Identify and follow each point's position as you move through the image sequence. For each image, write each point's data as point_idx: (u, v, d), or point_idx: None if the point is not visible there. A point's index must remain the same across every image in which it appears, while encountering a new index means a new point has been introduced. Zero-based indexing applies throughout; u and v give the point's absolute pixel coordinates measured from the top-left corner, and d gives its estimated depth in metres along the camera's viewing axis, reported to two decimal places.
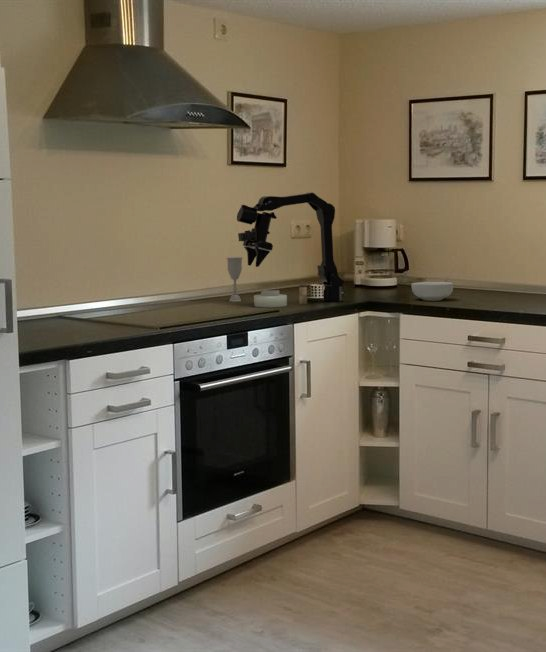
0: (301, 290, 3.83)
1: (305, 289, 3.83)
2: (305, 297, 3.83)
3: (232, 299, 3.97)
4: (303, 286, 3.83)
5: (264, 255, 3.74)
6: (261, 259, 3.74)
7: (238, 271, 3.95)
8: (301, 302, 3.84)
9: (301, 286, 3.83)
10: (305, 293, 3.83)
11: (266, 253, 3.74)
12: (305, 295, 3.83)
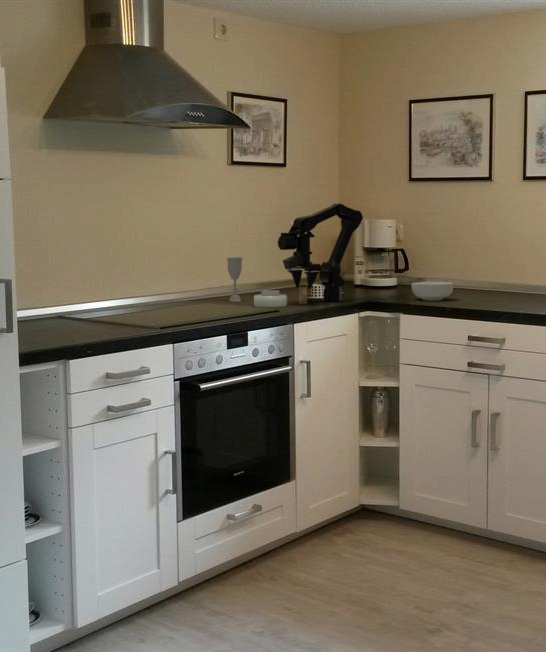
0: (301, 290, 3.83)
1: (305, 289, 3.83)
2: (305, 297, 3.83)
3: (232, 299, 3.97)
4: (303, 286, 3.83)
5: (314, 276, 3.79)
6: (312, 281, 3.79)
7: (238, 271, 3.95)
8: (301, 302, 3.84)
9: (301, 286, 3.83)
10: (305, 293, 3.83)
11: (316, 274, 3.79)
12: (305, 295, 3.83)
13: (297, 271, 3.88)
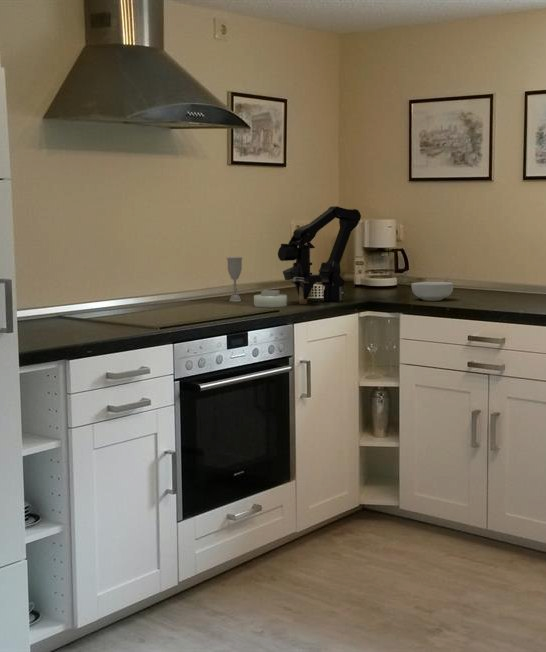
0: (301, 290, 3.83)
1: None
2: None
3: (232, 299, 3.97)
4: None
5: (310, 287, 3.82)
6: (308, 291, 3.82)
7: (238, 271, 3.95)
8: (301, 302, 3.84)
9: (301, 286, 3.83)
10: None
11: (312, 284, 3.82)
12: None
13: None
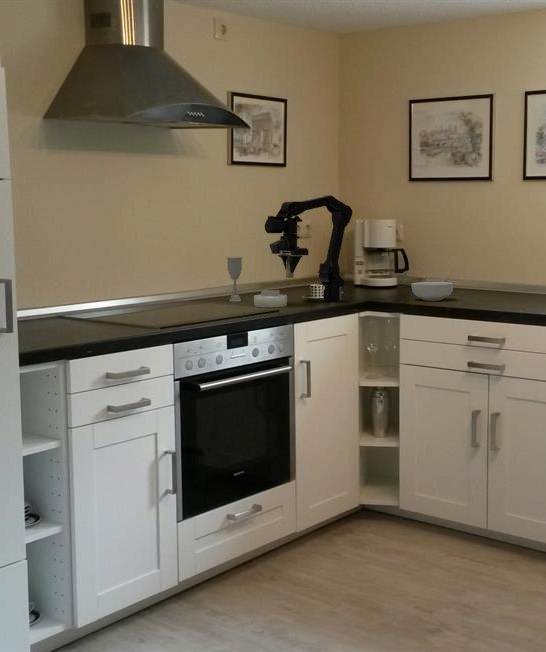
0: (288, 264, 3.79)
1: None
2: None
3: (232, 299, 3.97)
4: None
5: (297, 260, 3.78)
6: (295, 265, 3.78)
7: (238, 271, 3.95)
8: (287, 276, 3.79)
9: (288, 260, 3.79)
10: None
11: (298, 258, 3.78)
12: None
13: (288, 256, 3.82)
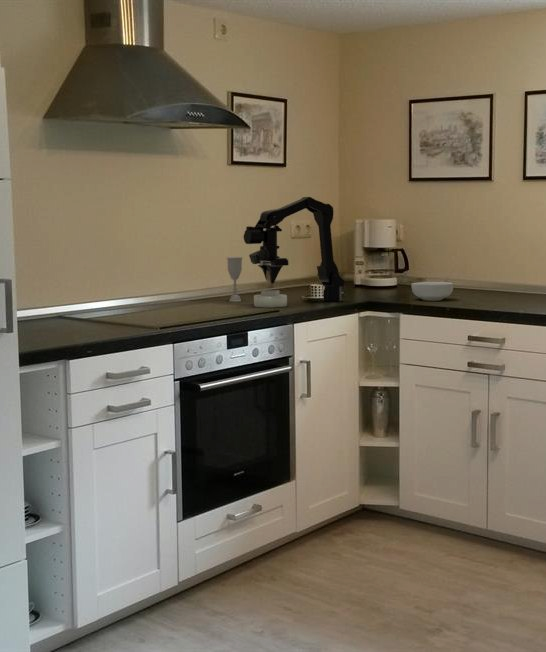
0: (268, 274, 3.75)
1: None
2: None
3: (232, 299, 3.97)
4: None
5: (277, 271, 3.74)
6: (275, 275, 3.75)
7: (238, 271, 3.95)
8: (268, 286, 3.76)
9: (268, 270, 3.75)
10: None
11: (279, 268, 3.74)
12: None
13: None
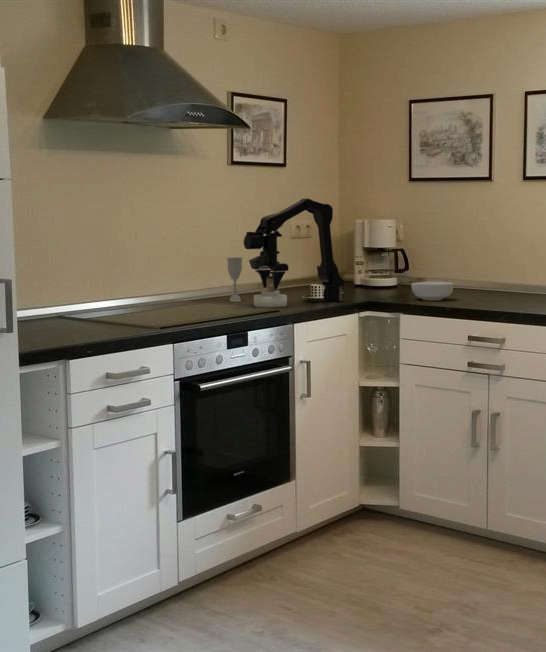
0: (268, 282, 3.75)
1: (272, 281, 3.75)
2: (272, 289, 3.76)
3: (232, 299, 3.97)
4: (270, 278, 3.75)
5: (280, 276, 3.72)
6: (278, 281, 3.73)
7: (238, 271, 3.95)
8: None
9: (268, 278, 3.75)
10: (272, 284, 3.76)
11: (282, 274, 3.72)
12: (272, 287, 3.76)
13: (265, 271, 3.80)
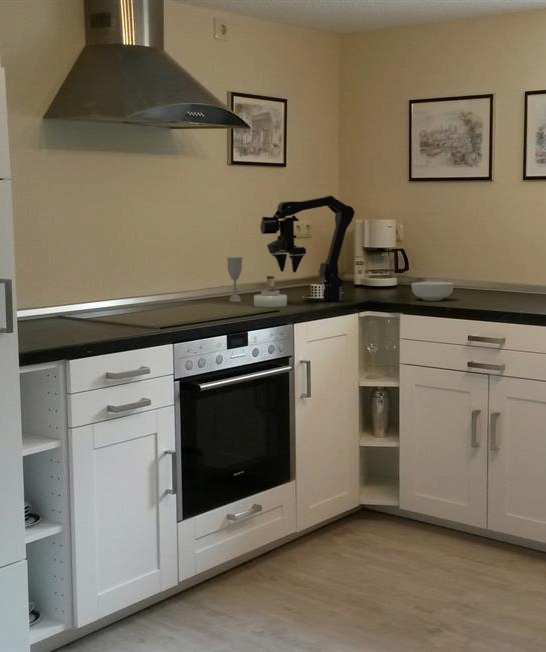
0: (268, 282, 3.76)
1: (272, 281, 3.76)
2: (272, 289, 3.76)
3: (232, 299, 3.97)
4: (270, 277, 3.75)
5: (299, 260, 3.81)
6: (297, 264, 3.81)
7: (238, 271, 3.95)
8: None
9: (268, 277, 3.75)
10: (272, 284, 3.76)
11: (300, 257, 3.81)
12: (272, 287, 3.76)
13: (281, 255, 3.90)
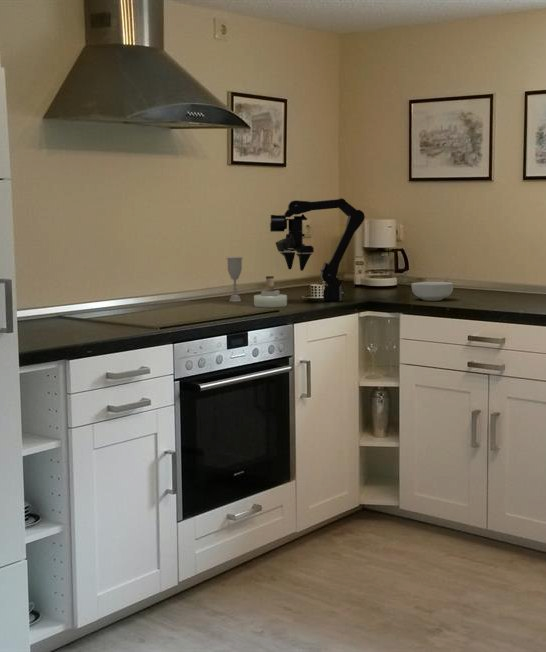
0: (267, 281, 3.76)
1: (272, 280, 3.76)
2: (272, 289, 3.76)
3: (232, 299, 3.97)
4: (269, 277, 3.75)
5: (306, 258, 3.85)
6: (304, 262, 3.86)
7: (238, 271, 3.95)
8: None
9: (267, 277, 3.76)
10: (271, 284, 3.76)
11: (308, 256, 3.85)
12: (272, 286, 3.76)
13: (290, 253, 3.94)
